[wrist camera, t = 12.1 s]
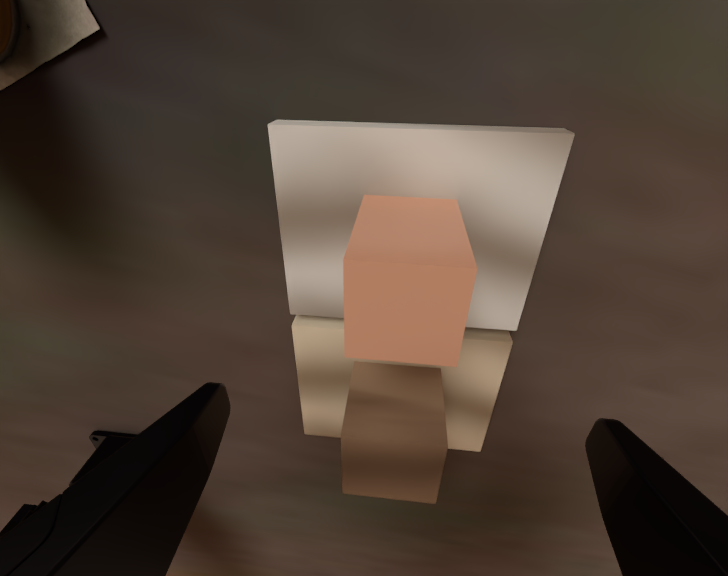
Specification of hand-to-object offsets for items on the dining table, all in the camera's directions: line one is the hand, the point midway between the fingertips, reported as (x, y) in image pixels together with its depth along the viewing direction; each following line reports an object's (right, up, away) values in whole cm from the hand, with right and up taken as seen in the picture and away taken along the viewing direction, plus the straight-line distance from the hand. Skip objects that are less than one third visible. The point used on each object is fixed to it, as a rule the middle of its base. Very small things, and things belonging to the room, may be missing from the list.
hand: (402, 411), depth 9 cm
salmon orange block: (+1, +5, +8) cm, 10 cm away
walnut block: (+1, -3, +14) cm, 14 cm away
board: (+1, +2, +12) cm, 12 cm away
